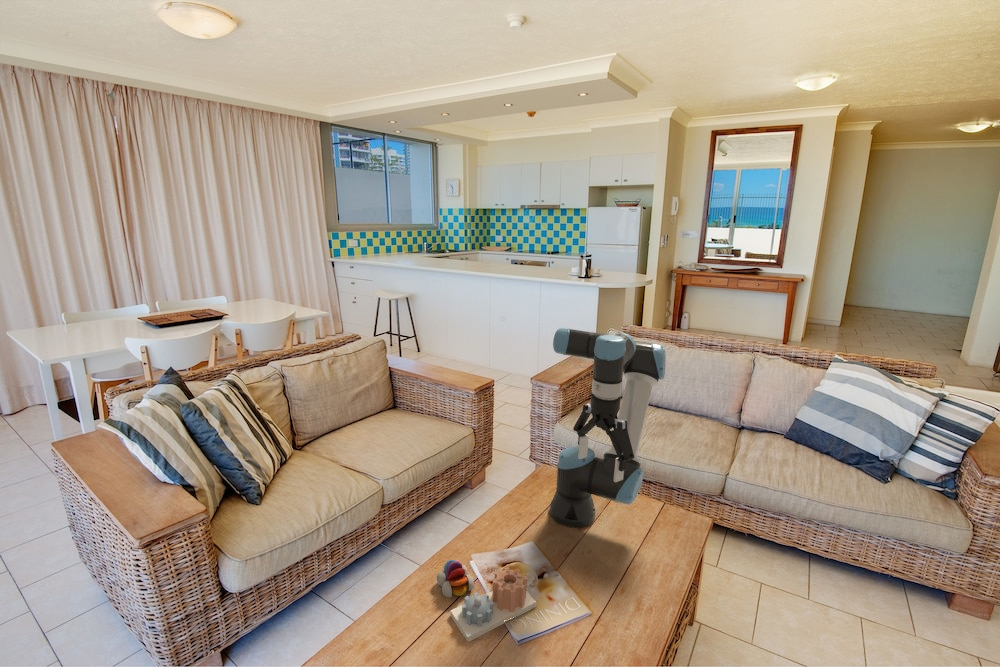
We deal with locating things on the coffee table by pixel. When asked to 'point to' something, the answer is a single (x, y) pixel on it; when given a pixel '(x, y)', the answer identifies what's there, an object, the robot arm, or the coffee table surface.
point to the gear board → (494, 618)
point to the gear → (509, 589)
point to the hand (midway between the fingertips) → (599, 468)
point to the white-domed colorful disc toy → (454, 579)
